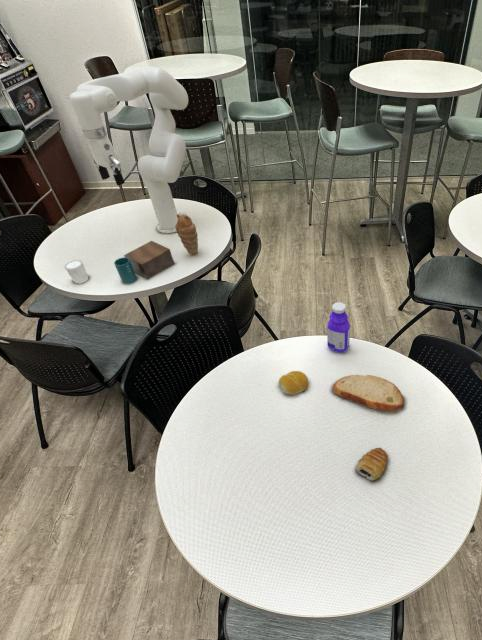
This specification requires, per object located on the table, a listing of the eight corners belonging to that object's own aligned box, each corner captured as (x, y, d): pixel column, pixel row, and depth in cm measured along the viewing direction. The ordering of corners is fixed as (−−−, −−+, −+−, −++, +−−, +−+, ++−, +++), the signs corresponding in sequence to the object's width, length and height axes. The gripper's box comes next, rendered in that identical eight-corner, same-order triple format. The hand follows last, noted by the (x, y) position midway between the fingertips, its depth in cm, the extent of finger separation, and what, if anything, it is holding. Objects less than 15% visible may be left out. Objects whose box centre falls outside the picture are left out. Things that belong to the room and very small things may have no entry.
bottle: (351, 345, 142) (353, 303, 129) (345, 355, 139) (346, 314, 126) (331, 339, 145) (331, 297, 132) (325, 350, 141) (324, 308, 128)
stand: (156, 255, 185) (151, 240, 180) (174, 263, 180) (169, 249, 174) (129, 270, 177) (123, 255, 172) (147, 279, 172) (141, 264, 167)
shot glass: (84, 285, 171) (76, 270, 166) (69, 283, 172) (60, 268, 167) (93, 275, 175) (85, 260, 170) (78, 274, 177) (70, 259, 171)
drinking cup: (123, 255, 169) (111, 262, 166) (132, 260, 166) (120, 267, 163) (131, 274, 175) (119, 280, 172) (140, 278, 173) (128, 285, 170)
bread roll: (313, 387, 130) (312, 378, 127) (288, 399, 127) (287, 390, 124) (299, 371, 135) (298, 362, 132) (274, 382, 132) (273, 374, 129)
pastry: (371, 446, 115) (372, 438, 112) (393, 458, 112) (395, 450, 109) (353, 471, 110) (353, 464, 107) (375, 485, 107) (377, 477, 104)
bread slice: (328, 385, 131) (328, 377, 128) (380, 367, 135) (380, 359, 132) (354, 428, 119) (355, 420, 117) (409, 407, 124) (411, 399, 121)
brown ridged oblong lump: (180, 256, 183) (167, 217, 170) (190, 247, 188) (179, 208, 175) (197, 260, 181) (186, 220, 167) (207, 251, 186) (197, 211, 172)
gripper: (118, 134, 151) (135, 183, 163) (90, 125, 158) (109, 173, 171) (99, 140, 147) (118, 190, 159) (72, 131, 154) (92, 179, 167)
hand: (113, 181), depth 165 cm, fingers open, 9 cm apart
